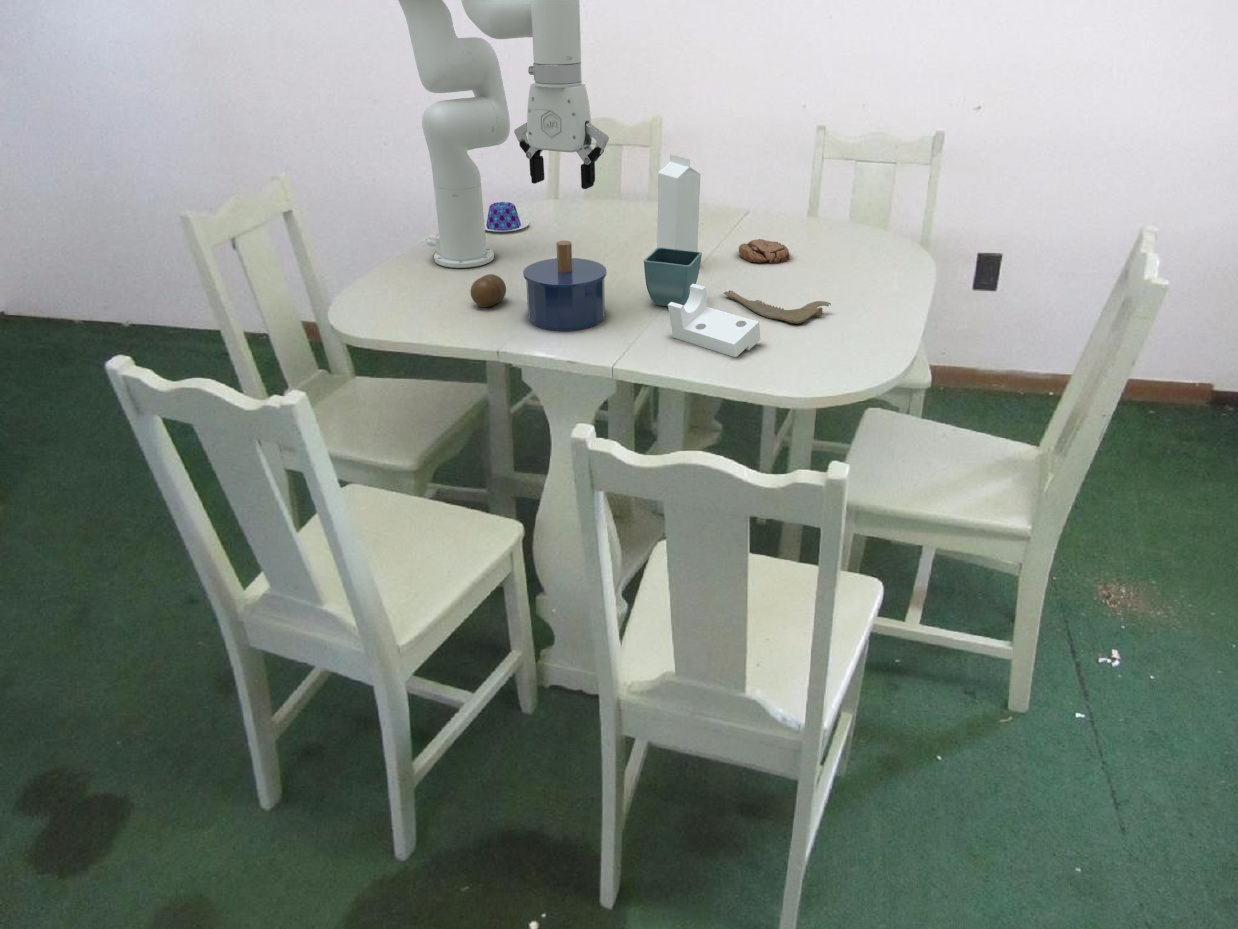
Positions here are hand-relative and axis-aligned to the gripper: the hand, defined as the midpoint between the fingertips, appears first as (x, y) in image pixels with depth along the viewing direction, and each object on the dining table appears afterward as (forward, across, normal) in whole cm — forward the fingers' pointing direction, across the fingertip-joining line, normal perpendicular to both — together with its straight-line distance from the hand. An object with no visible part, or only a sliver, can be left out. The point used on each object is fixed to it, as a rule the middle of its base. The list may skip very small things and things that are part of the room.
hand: (562, 184), depth 153 cm
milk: (+23, +7, +34) cm, 41 cm away
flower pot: (+23, +15, +14) cm, 31 cm away
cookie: (+23, +21, +48) cm, 57 cm away
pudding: (+22, -41, +42) cm, 63 cm away
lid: (+15, +1, -1) cm, 15 cm away
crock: (+23, 0, -1) cm, 23 cm away
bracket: (+24, +28, 0) cm, 37 cm away
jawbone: (+24, +33, +20) cm, 45 cm away
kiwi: (+23, -16, -2) cm, 28 cm away
